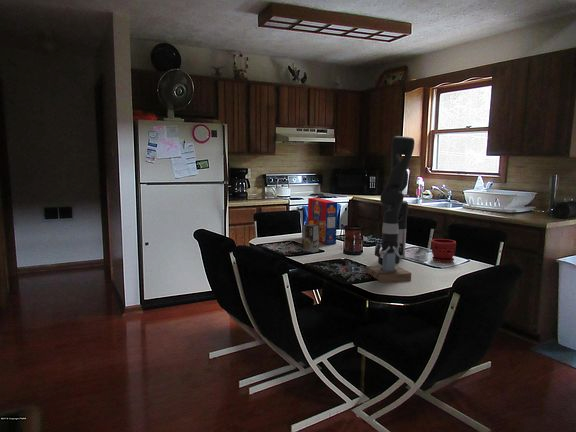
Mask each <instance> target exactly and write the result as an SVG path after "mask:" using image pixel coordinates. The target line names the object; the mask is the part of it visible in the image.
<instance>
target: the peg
mask: <svg viewBox="0 0 576 432" xmlns="http://www.w3.org/2000/svg"><path fill="white" fill-rule="evenodd" d="M382 258H383V262H382V270H384V271H385V272H387V271H395V265H396V264H395V253H391V252H389V253H387V252H386V254H384V256H383V257H382Z"/></svg>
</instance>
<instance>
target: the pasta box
mask: <svg viewBox="0 0 576 432" xmlns="http://www.w3.org/2000/svg"><path fill="white" fill-rule="evenodd" d="M337 220H338V202H337V201H333V200H330V199H326V198H323V197H322V198H320V197H308V198H307V224H313V225H319V244H321V245H324V246H329V245H330V246H331V245H337V229H338V228H337V226H338V223H337Z"/></svg>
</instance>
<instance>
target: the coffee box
mask: <svg viewBox="0 0 576 432" xmlns="http://www.w3.org/2000/svg"><path fill="white" fill-rule="evenodd" d="M301 251H303V252H308V253H317V252H319V251H320V242H319V225H313V224H308V223H306V224H302V225H301Z"/></svg>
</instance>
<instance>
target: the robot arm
mask: <svg viewBox="0 0 576 432" xmlns="http://www.w3.org/2000/svg"><path fill="white" fill-rule="evenodd" d="M390 146H391V148H390V149H391V150H390V151H391V154H390V155H391V167H390V168H391V169H390V173H389V177H388V181H387V184H386V185H385V187H384V189H383V191H382V193H381V194H380V202H381V204H382V205H383V206H387V207H388V209H387V210H384V212H383V220H382V221H383V222H382V232H381V233H382V234H381V244H380V243H376V244H375V249H374V256H376V257H377V258H378V259H377V260H378V261H377V263H378V265H382V262H383V256H384V254H386V252H387V253H389V252H391V253H395V265H398V264H399V263H400V259H405V257H406V241H407V240H406V238H407V223H408V221H407V219H408V212H409V203H408V201H407V200H404V197H405V196H404V194H403V191H404V190H405V189H406V188H407V186H408V182H409V181H408V180H409V173H408V170H407V169H408V166H409V164H410V162H411V159H412V157H413V152H414V150H415V139H414V138H413V137H412V136H411V137H410V136H400V135H396V136H393V138H392V140H391V145H390ZM401 155H402V156H403V158H402V159H401V158H400V156H401ZM399 217H400V219H399Z"/></svg>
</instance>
